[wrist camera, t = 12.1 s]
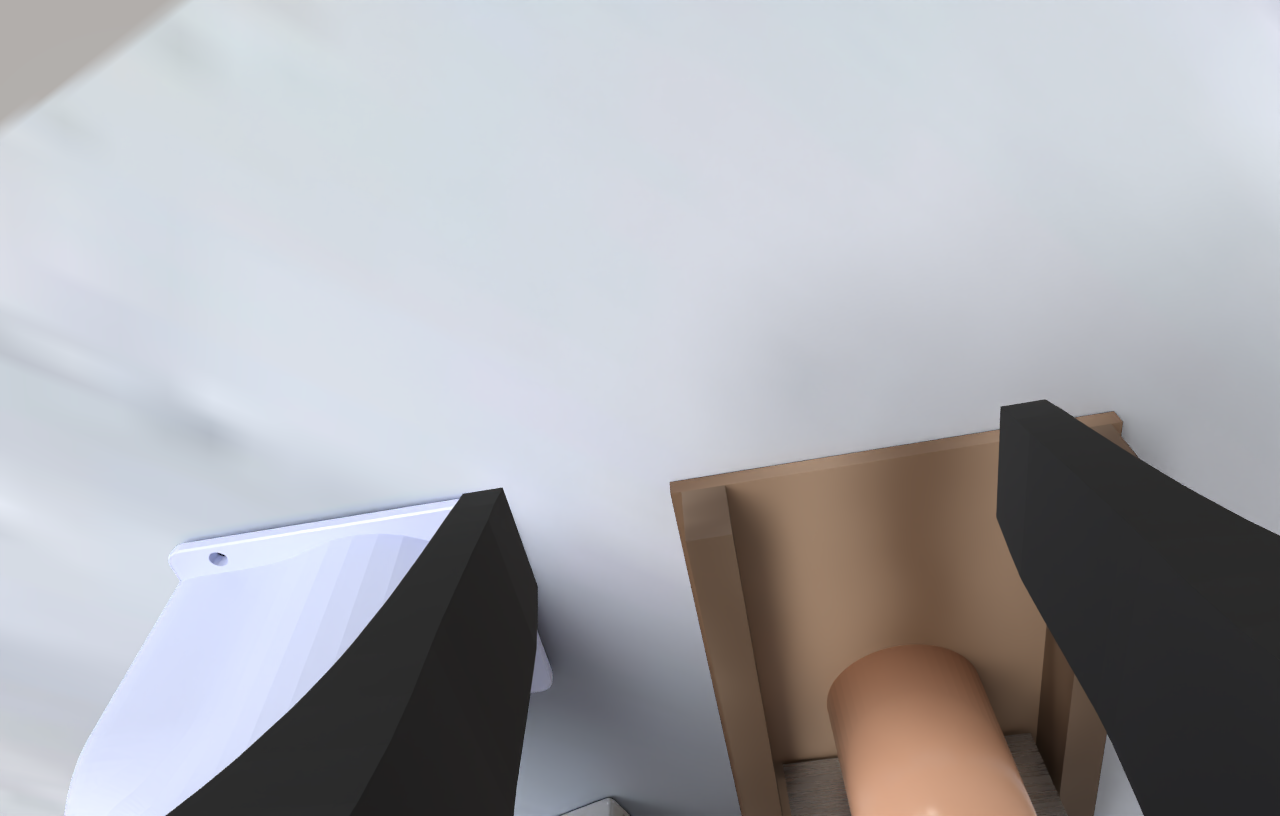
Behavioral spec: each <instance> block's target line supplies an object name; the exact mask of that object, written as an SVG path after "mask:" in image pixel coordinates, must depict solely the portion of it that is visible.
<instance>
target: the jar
mask: <svg viewBox="0 0 1280 816" xmlns="http://www.w3.org/2000/svg"><path fill="white" fill-rule="evenodd" d="M827 710H828V715H829V719H830V723H831V728H832V732H833V737H834V741H835V745H836V750H837V754H838V758H839V763H840V767H841V772H842V776H843V780H844V785H845V789H846V793H847V798H848V802H849V807H850V811H851V815H852V816H1037V814H1036V812H1035V809H1034V807H1033V805H1032V802H1031V800H1030V797H1029V795H1028V792H1027V790H1026V788H1025V785H1024V783H1023V780H1022V778H1021V776H1020V773H1019V771H1018V768H1017V766H1016V764H1015V761H1014V759H1013V756H1012V754H1011V752H1010V749H1009V747H1008V744H1007V742H1006V740H1005V737H1004V735H1003V732H1002V730H1001V728H1000V725H999V723H998V720H997V718H996V716H995V713H994V711H993V708H992V706H991V704H990V701H989V699H988V696H987V694H986V692H985V689H984V687H983V684H982V682H981V680H980V677H979V675H978V673H977V671H976V669H975V667H974V666H973V665H972V664H971V663H970V662H969V661H968V660H967V659H966V658H965V657H963V656H961V655H960V654H958V653H956V652H954V651H952V650H949V649H946V648H943V647H938V646H933V645H922V644H915V645H901V646H895V647H890V648H886V649H883V650H879V651H877V652H874V653H871V654H869V655H867V656H865V657H863V658H861V659H859V660H857V661H856V662H854V663H852V664H851V665H850V666H849V667H847V668H846V669H845V670H844V671H843V672H842V673H841V674H840V675H839V676H838V677H837V678H836V679H835V681H834V682H833V684H832V686H831V687H830V690H829V693H828V696H827Z"/></svg>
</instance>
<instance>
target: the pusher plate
mask: <svg viewBox="0 0 1280 816" xmlns="http://www.w3.org/2000/svg"><path fill="white" fill-rule="evenodd" d="M1004 737H1005V740H1006V742H1007V744H1008V747H1009V749H1010V752H1011V754H1012V756H1013V759H1014V761H1015V764H1016V766H1017V768H1018V771H1019V773H1020V776H1021V778H1022V780H1023V783H1024V785H1025V788H1026V790H1027V792H1028V795H1029V797H1030V800H1031V802H1032V805H1033V807H1034V809H1035V812H1036V814H1037V816H1068V815H1067V813H1066V811H1065V809H1064V807H1063V804H1062V802H1061V800H1060V798H1059V795H1058V793H1057V791H1056V789H1055V786H1054V784H1053V782H1052V780H1051V777H1050V775H1049V773H1048V771H1047V768H1046V766H1045V764H1044V762H1043V760H1042V757H1041V755H1040V753H1039V751H1038V748H1037V746H1036V744H1035V742H1034V739H1033V737H1032V735H1031V733H1025V734H1017V735H1009V736H1004ZM783 768H784V774H785V780H786V786H787V792H788V798H789V804H790V810H791V816H852V815H851V811H850V807H849V802H848V798H847V793H846V789H845V785H844V780H843V776H842V772H841V767H840V763H839V758H831V759H823V760H815V761H808V762H800V763H792V764H784V765H783Z"/></svg>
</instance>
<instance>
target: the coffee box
mask: <svg viewBox="0 0 1280 816" xmlns="http://www.w3.org/2000/svg"><path fill="white" fill-rule="evenodd" d="M561 816H630V815H629V814H628V813H627V812H626V811H625V810H624V809H623V808H622V807H621V806H620V805H619V804H618V803H617V802H616V801H614V800H613V799H612V798H606V799H603V800H600V801H597V802H595V803H592V804H589V805H587V806H584V807H581V808H579V809H576V810H574V811H571V812H568V813H566V814H563V815H561Z"/></svg>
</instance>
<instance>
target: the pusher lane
mask: <svg viewBox="0 0 1280 816" xmlns="http://www.w3.org/2000/svg"><path fill="white" fill-rule="evenodd" d="M1076 419H1077V420H1079V421H1081V422H1082V423H1084V424H1085V425H1087V426H1088V427H1090V428H1091V429H1093V430H1094V431H1096V432H1098V433H1099V434H1101V435H1102V436H1104V437H1105V438H1107V439H1109V440H1110V441H1112V442H1113V443H1115V444H1116V445H1118V446H1119V447H1121V448H1123V449H1124V450H1126V451H1127V452H1129V453H1131V454H1132V455H1134V456H1135V457H1137V458H1138V456H1137V455H1136V454H1135V453H1134V451H1133V450H1132V449H1131V448H1130V447H1129V445H1128V444H1127V443H1126V442H1125V440H1124V439H1123V438H1122V437H1121V433H1122V425H1123V421H1122V420H1121V419H1120V418H1119V417H1118V415H1117V414H1116V413H1115V412H1114V411H1113V412H1107V413H1101V414H1094V415H1088V416H1082V417H1076ZM999 435H1000V430H994V431H988V432H982V433H975V434H969V435H963V436H957V437H950V438H944V439H938V440H932V441H925V442H919V443H913V444H907V445H900V446H894V447H888V448H882V449H875V450H869V451H863V452H857V453H850V454H844V455H838V456H832V457H825V458H819V459H813V460H807V461H800V462H794V463H788V464H782V465H775V466H769V467H763V468H757V469H750V470H744V471H738V472H732V473H725V474H719V475H713V476H706V477H700V478H694V479H688V480H681V481H675V482H670V493H671V498H672V503H673V507H674V512H675V516H676V521H677V525H678V530H679V534H680V539H681V543H682V548H683V552H684V557H685V561H686V566H687V570H688V575H689V579H690V584H691V588H692V593H693V597H694V602H695V607H696V611H697V616H698V620H699V625H700V629H701V634H702V638H703V643H704V647H705V652H706V656H707V661H708V665H709V670H710V674H711V679H712V683H713V688H714V692H715V697H716V701H717V706H718V710H719V715H720V719H721V724H722V728H723V733H724V737H725V742H726V746H727V751H728V756H729V760H730V765H731V769H732V774H733V778H734V783H735V787H736V792H737V796H738V801H739V805H740V810H741V814H742V816H791V810H790V804H789V798H788V792H787V786H786V780H785V774H784V768H783V765H784V764H792V763H800V762H808V761H815V760H823V759H831V758H838V754H837V750H836V745H835V741H834V737H833V732H832V728H831V723H830V719H829V715H828V710H827V696H828V693H829V690H830V687H831V686H832V684H833V682H834V681H835V679H836V678H837V677H838V676H839V675H840V674H841V673H842V672H843V671H844V670H845V669H846V668H847V667H849V666H850V665H851V664H852V663H854V662H856V661H857V660H859V659H861V658H863V657H865V656H867V655H869V654H871V653H874V652H877V651H879V650H883V649H886V648H890V647H895V646H901V645H915V644H922V645H933V646H938V647H943V648H946V649H949V650H952V651H954V652H956V653H958V654H960V655H961V656H963V657H965V658H966V659H967V660H968V661H969V662H970V663H971V664H972V665H973V666H974V667H975V669H976V671H977V673H978V675H979V677H980V680H981V682H982V684H983V687H984V689H985V692H986V694H987V696H988V699H989V701H990V704H991V706H992V708H993V711H994V713H995V716H996V718H997V720H998V723H999V725H1000V728H1001V730H1002V732H1003V735H1004V736H1009V735H1017V734H1025V733H1031V735H1032V737H1033V739H1034V742H1035V744H1036V746H1037V748H1038V751H1039V753H1040V755H1041V757H1042V760H1043V762H1044V764H1045V766H1046V768H1047V771H1048V773H1049V775H1050V777H1051V780H1052V782H1053V784H1054V786H1055V789H1056V791H1057V793H1058V795H1059V798H1060V800H1061V802H1062V804H1063V807H1064V809H1065V811H1066V813H1067V815H1068V816H1094V810H1095V804H1096V798H1097V791H1098V785H1099V779H1100V773H1101V766H1102V760H1103V754H1104V748H1105V741H1106V735H1107V732H1106V730H1105V728H1104V726H1103V724H1102V722H1101V720H1100V718H1099V716H1098V715H1097V713H1096V711H1095V709H1094V707H1093V705H1092V704H1091V702H1090V700H1089V698H1088V697H1087V695H1086V693H1085V691H1084V690H1083V688H1082V686H1081V684H1080V683H1079V681H1078V679H1077V677H1076V676H1075V674H1074V672H1073V670H1072V669H1071V667H1070V665H1069V663H1068V662H1067V660H1066V658H1065V656H1064V655H1063V653H1062V651H1061V649H1060V648H1059V646H1058V644H1057V642H1056V641H1055V639H1054V637H1053V635H1052V634H1051V632H1050V630H1049V628H1048V627H1047V625H1046V623H1045V621H1044V620H1043V618H1042V616H1041V614H1040V612H1039V611H1038V609H1037V607H1036V605H1035V604H1034V602H1033V600H1032V598H1031V596H1030V595H1029V593H1028V591H1027V589H1026V587H1025V586H1024V584H1023V582H1022V580H1021V578H1020V576H1019V573H1018V571H1017V569H1016V566H1015V564H1014V561H1013V559H1012V557H1011V554H1010V552H1009V549H1008V547H1007V544H1006V541H1005V539H1004V536H1003V534H1002V531H1001V528H1000V526H999V523H998V521H997V518H996V508H997V484H998V460H999Z"/></svg>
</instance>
